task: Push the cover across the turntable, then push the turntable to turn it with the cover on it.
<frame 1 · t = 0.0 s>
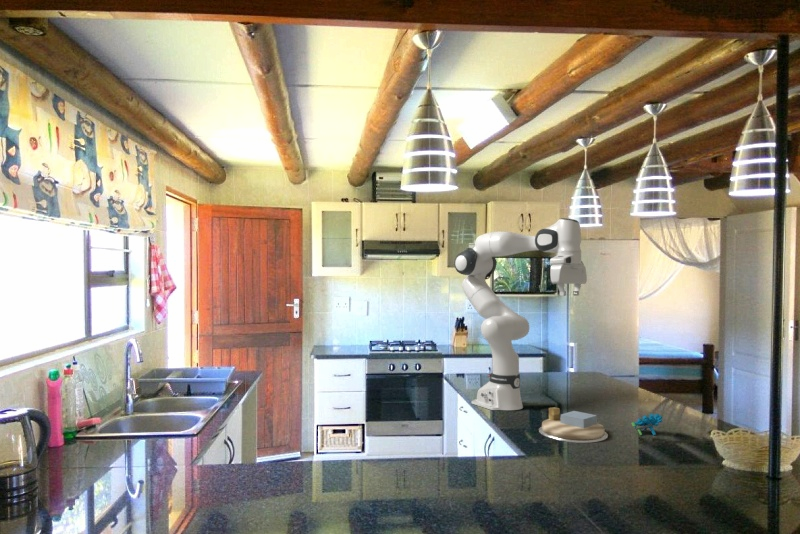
hand: (569, 295, 204), 48 cm above the countertop, fingers open, 8 cm apart
blue toy animal: (646, 433, 187), on the countertop
turntable: (572, 422, 187), point 4 cm above the countertop, hinge at 0.0°, touching cover
cover: (578, 423, 189), point 3 cm above the countertop, touching turntable
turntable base: (572, 433, 187), on the countertop
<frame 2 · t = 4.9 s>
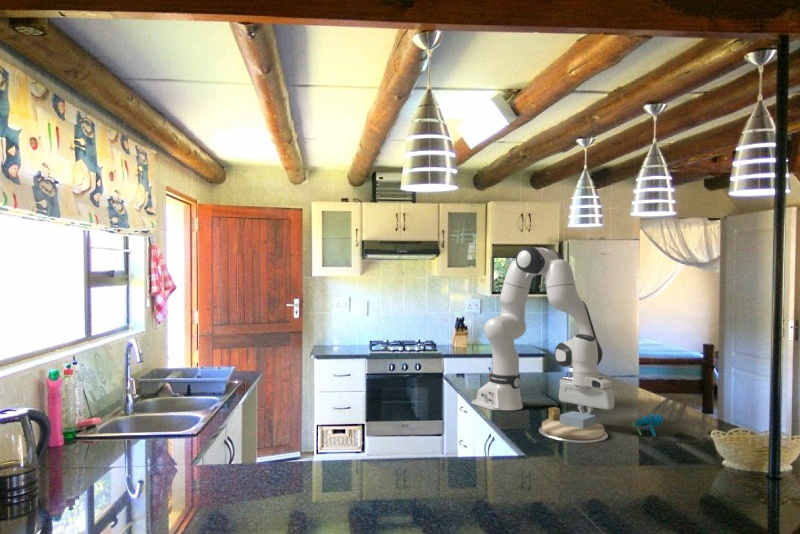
hand: (585, 418, 192), 4 cm above the countertop, fingers closed
nothing on the countertop moved.
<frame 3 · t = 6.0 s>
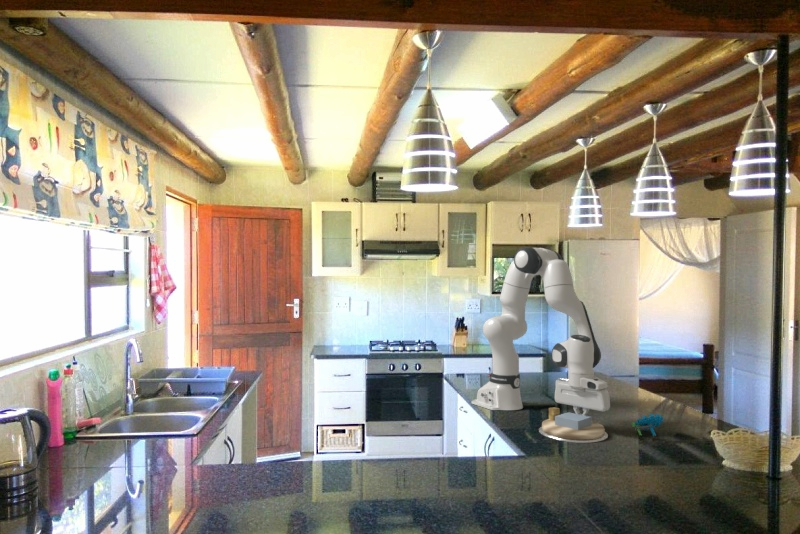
hand: (581, 419, 191), 4 cm above the countertop, fingers closed
cover: (573, 425, 187), point 3 cm above the countertop, touching turntable
everything else where it was.
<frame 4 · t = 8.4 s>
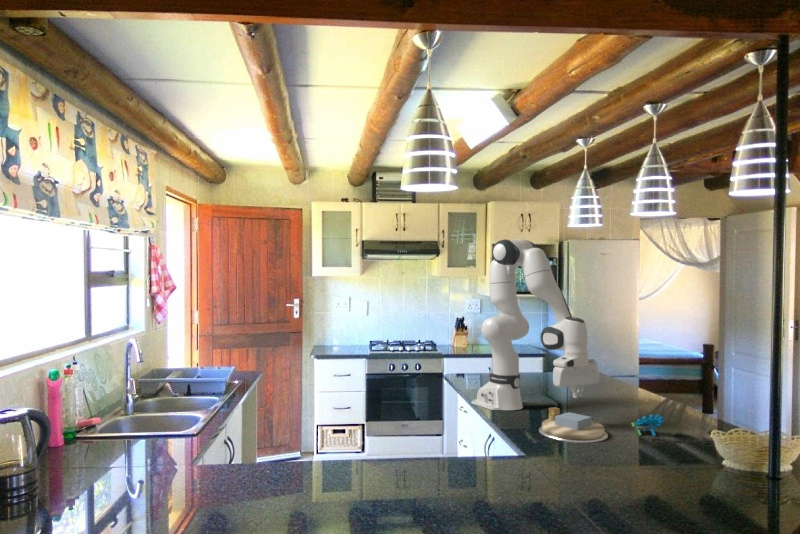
hand: (577, 397, 199), 10 cm above the countertop, fingers closed
nothing on the countertop moved.
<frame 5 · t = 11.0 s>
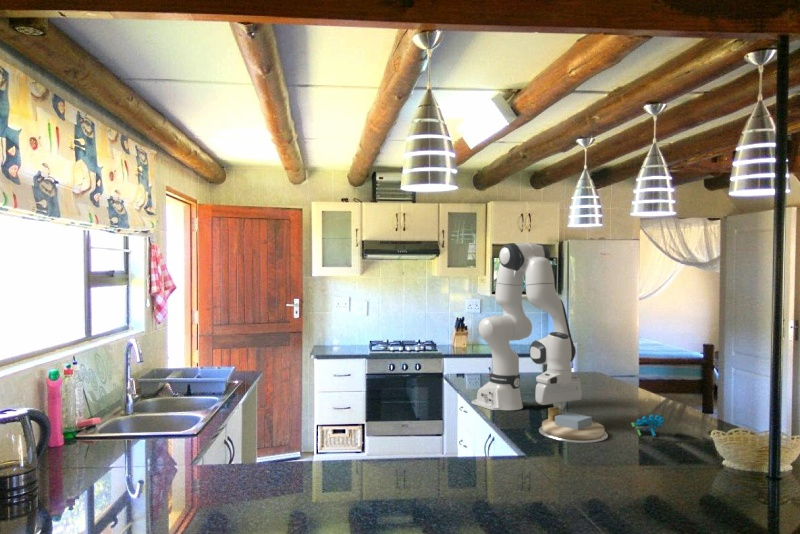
hand: (559, 414, 196), 4 cm above the countertop, fingers closed
turntable: (572, 422, 187), point 4 cm above the countertop, hinge at 1.8°, touching cover, gripper
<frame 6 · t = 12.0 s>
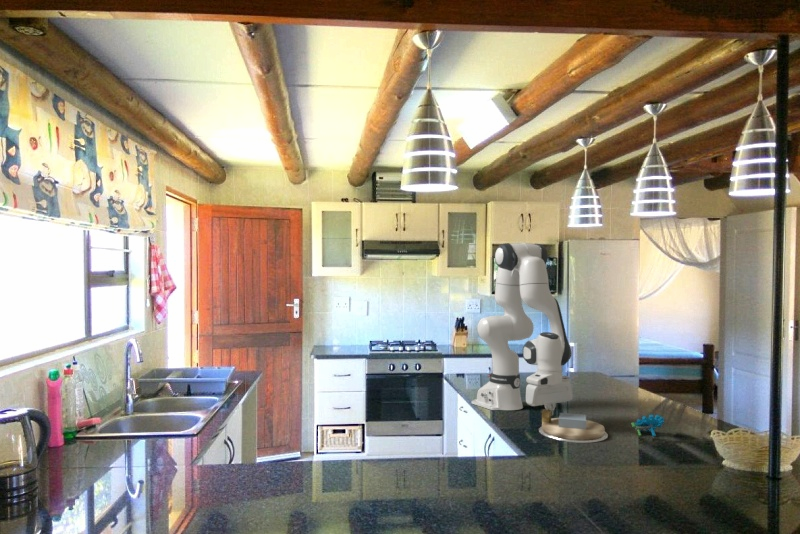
hand: (550, 415, 194), 4 cm above the countertop, fingers closed
turntable: (572, 422, 187), point 4 cm above the countertop, hinge at 32.1°, touching cover, gripper
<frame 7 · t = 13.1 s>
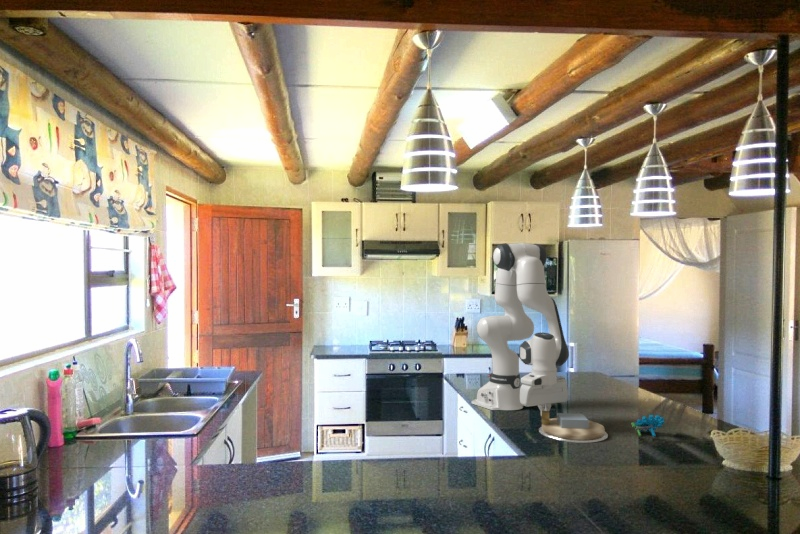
hand: (544, 416, 193), 4 cm above the countertop, fingers closed
turntable: (572, 422, 187), point 4 cm above the countertop, hinge at 45.0°, touching cover, gripper
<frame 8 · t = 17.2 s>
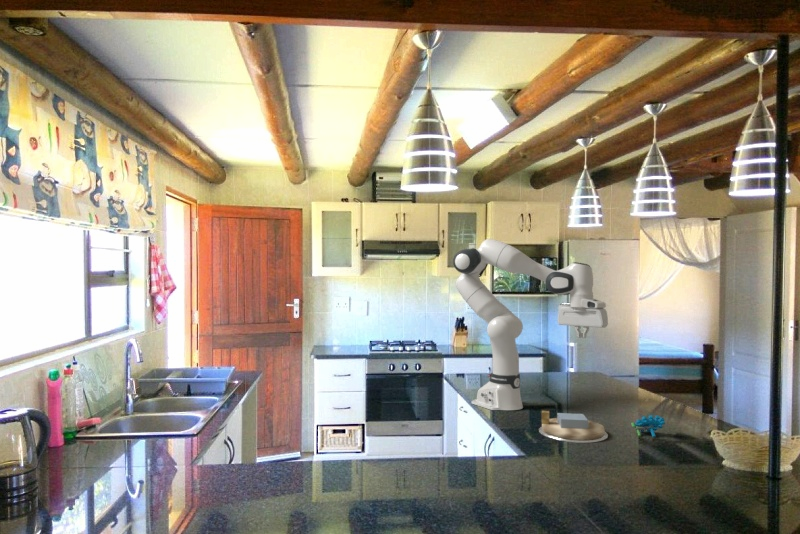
hand: (582, 337, 211), 31 cm above the countertop, fingers closed
turntable: (572, 422, 187), point 4 cm above the countertop, hinge at 45.0°, touching cover
at the end: cover 0.4 cm from the turntable (horizontally); turntable at +45° (first picture: +0°); cover touching turntable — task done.
